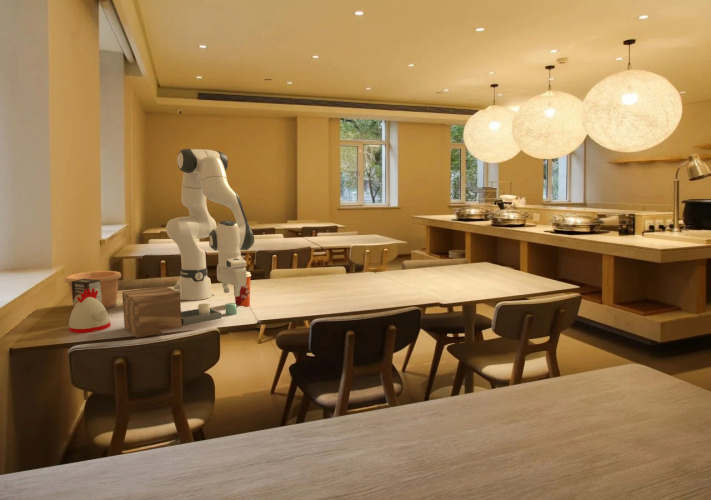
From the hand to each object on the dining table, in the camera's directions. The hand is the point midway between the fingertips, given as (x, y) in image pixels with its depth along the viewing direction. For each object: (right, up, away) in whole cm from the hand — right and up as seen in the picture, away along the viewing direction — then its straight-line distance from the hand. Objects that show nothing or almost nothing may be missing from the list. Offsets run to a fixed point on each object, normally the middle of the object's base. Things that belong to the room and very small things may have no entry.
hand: (231, 294), depth 201 cm
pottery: (-65, -7, +19) cm, 68 cm away
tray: (-12, -10, -5) cm, 17 cm away
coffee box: (-57, -10, -3) cm, 58 cm away
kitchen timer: (-50, -12, -14) cm, 53 cm away
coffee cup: (0, -7, +19) cm, 20 cm away
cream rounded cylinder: (-10, -9, -4) cm, 14 cm away
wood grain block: (-26, -11, -16) cm, 32 cm away
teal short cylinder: (-1, -9, +1) cm, 9 cm away
